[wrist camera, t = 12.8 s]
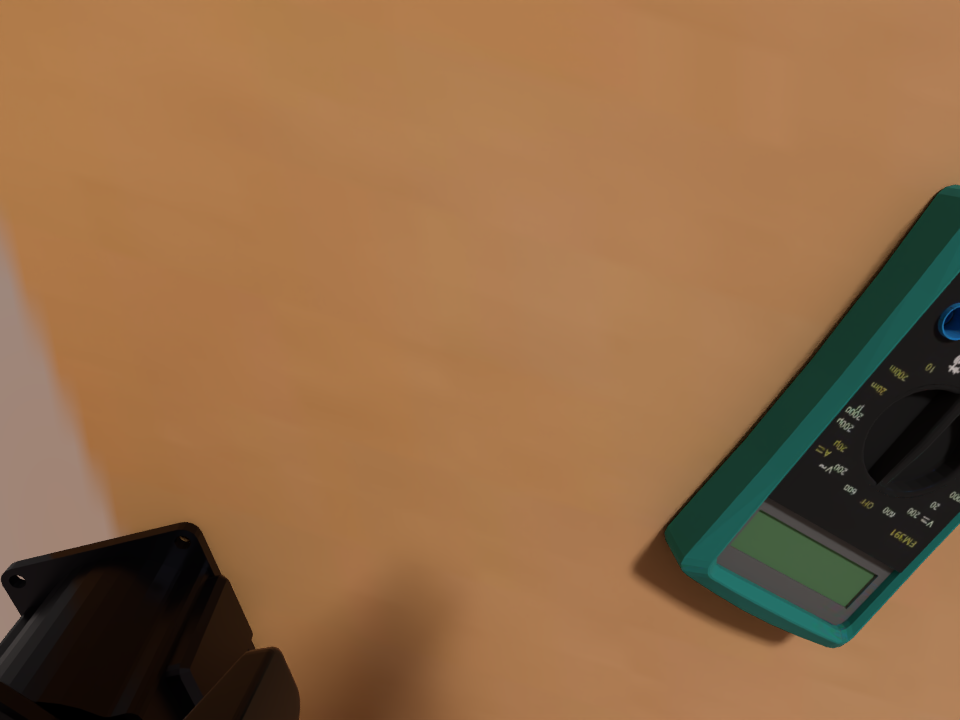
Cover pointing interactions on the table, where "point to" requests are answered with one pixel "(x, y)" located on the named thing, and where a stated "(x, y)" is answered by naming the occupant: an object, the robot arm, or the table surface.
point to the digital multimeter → (846, 457)
